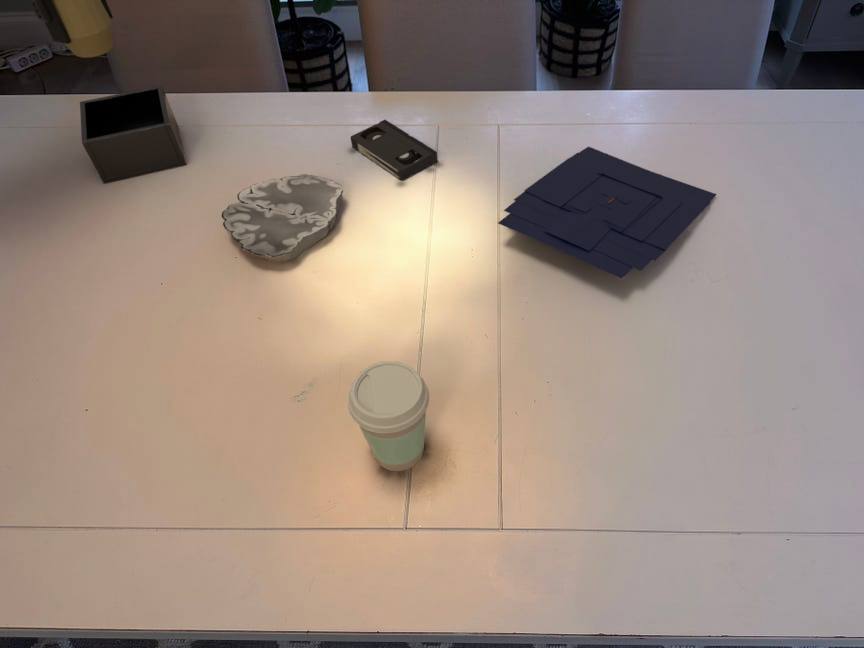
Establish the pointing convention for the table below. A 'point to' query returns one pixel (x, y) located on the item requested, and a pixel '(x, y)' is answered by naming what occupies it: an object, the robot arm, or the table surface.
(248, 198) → the brain slice
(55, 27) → the robot arm
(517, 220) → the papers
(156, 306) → the table surface
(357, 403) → the coffee cup
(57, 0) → the squeeze bottle
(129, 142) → the box
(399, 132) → the vhs tape
